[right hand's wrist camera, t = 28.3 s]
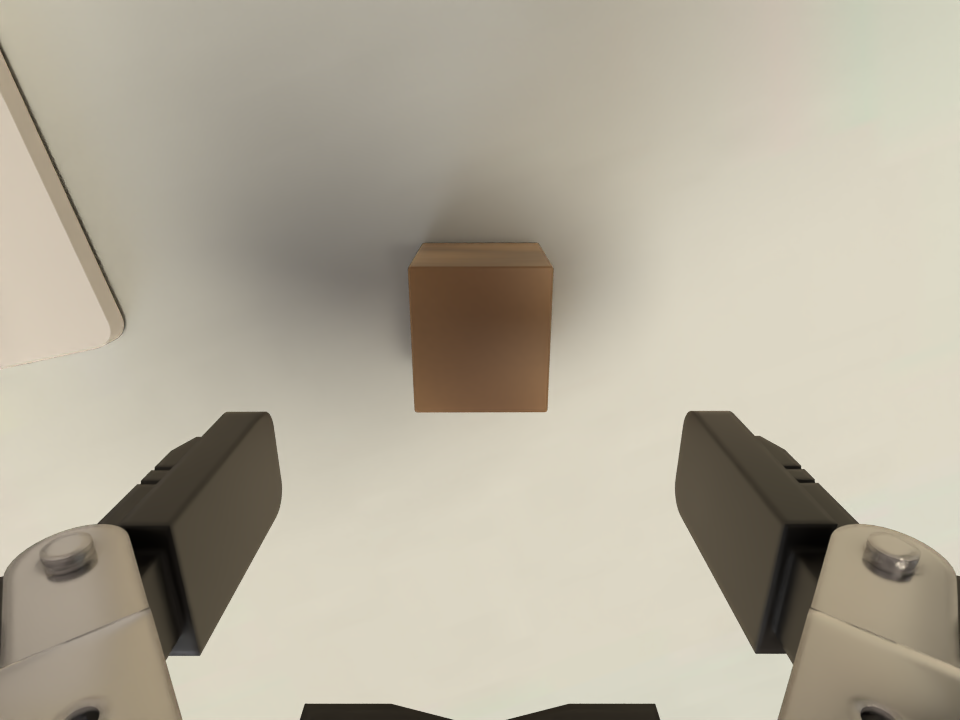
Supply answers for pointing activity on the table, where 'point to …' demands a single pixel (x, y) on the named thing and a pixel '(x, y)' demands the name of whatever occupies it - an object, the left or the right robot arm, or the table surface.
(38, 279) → the tablet stand
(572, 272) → the table surface
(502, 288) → the block
